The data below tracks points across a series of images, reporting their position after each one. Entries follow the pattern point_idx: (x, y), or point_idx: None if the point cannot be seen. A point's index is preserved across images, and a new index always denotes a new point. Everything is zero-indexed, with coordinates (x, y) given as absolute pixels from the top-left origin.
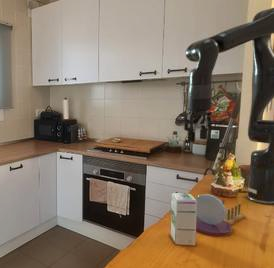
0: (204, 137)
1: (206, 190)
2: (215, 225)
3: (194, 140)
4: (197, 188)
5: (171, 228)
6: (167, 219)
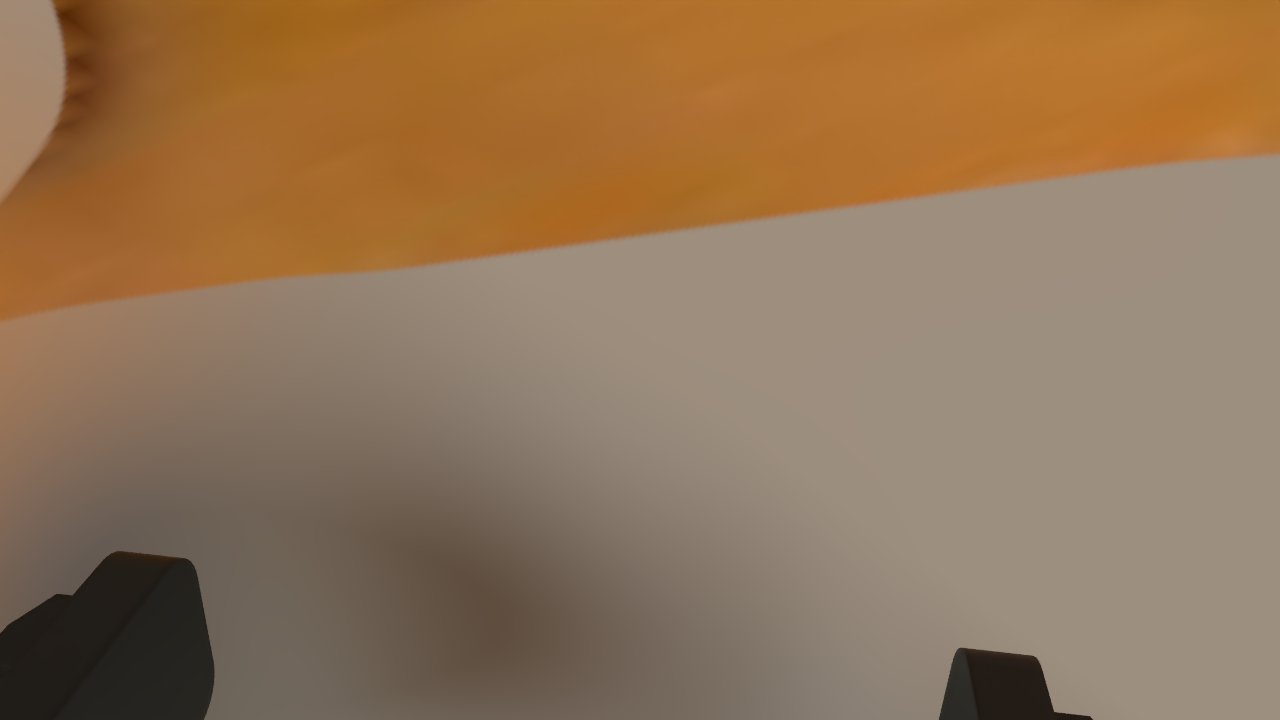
0: (162, 624)
1: (40, 204)
2: None
3: (1004, 681)
4: (73, 297)
5: None
6: (1229, 128)
